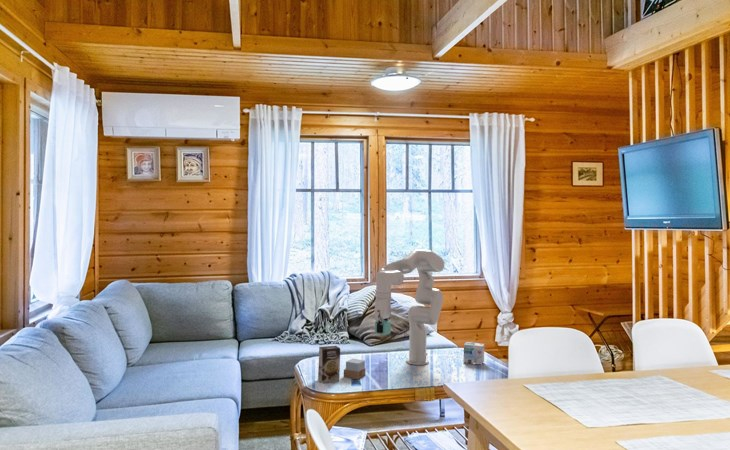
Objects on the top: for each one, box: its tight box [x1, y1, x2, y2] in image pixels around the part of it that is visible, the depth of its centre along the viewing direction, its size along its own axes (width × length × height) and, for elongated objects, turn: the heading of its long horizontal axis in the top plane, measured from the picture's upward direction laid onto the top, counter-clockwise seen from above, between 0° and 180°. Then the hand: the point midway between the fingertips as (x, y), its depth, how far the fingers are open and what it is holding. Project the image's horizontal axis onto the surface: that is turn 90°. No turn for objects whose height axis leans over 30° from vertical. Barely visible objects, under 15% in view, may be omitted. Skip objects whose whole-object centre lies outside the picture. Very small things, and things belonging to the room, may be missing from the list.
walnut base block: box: [343, 367, 366, 380], centre depth 245 cm, size 8×8×4 cm
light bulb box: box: [462, 341, 485, 365], centre depth 275 cm, size 11×7×11 cm, turn 68°
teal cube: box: [374, 320, 392, 336], centre depth 246 cm, size 6×6×6 cm
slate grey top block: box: [345, 358, 366, 372], centre depth 245 cm, size 7×7×4 cm
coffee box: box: [317, 345, 341, 384], centre depth 237 cm, size 9×6×16 cm
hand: (382, 331), depth 246 cm, fingers closed on teal cube, 6 cm apart
